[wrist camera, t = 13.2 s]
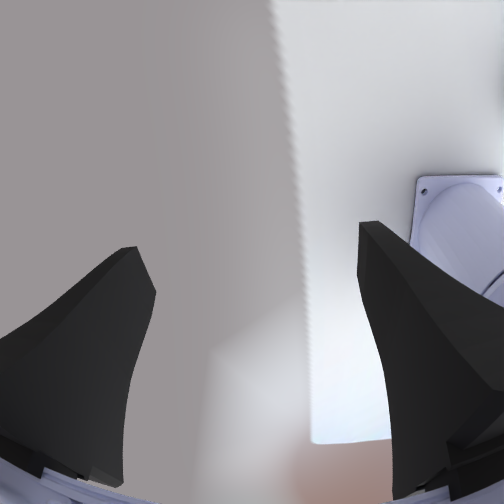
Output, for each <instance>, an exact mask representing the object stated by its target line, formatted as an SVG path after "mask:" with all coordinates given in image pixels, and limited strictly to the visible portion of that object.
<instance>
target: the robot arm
mask: <svg viewBox="0 0 504 504" xmlns="http://www.w3.org/2000/svg"><path fill="white" fill-rule="evenodd" d="M498 187H499V189H498ZM423 189H426V190H425V192H424V193H421V191H422V190H423ZM497 189H498V190H497ZM503 190H504V178H503V177H501V176H498V175H459V176H423V177H420V178H419V179H418V181H417V187H416V198H415V208H414V217H413V225H412V233H411V240H410V245H409V244H408V243H406V242H405V241H404V240H403V239H401V238H400V237H399V236H398V235H396V234H395V233H394V232H393V231H391V230H390V229H389V228H387V227H386V226H385V225H383V224H382V223H381V222H379V221H369V222H359V244H358V264H357V278H358V283H359V288H360V292H361V297H362V302H363V305H364V308H365V311H366V314H367V317H368V320H369V323H370V326H371V330H372V333H373V336H374V339H375V342H376V345H377V349H378V352H379V355H380V359H381V363H382V367H383V371H384V377H385V383H386V390H387V396H388V404H389V413H390V423H391V436H392V453H393V454H392V455H393V487H392V493H393V501H390V502H386V503H380V504H504V206H503V205H502V204H501V200H502V195H503ZM155 296H156V290H155V288H154V286H153V283H152V281H151V279H150V277H149V275H148V272H147V270H146V267H145V265H144V263H143V261H142V258H141V256H140V253H139V251H138V249H137V246H135V247H126V248H121V249H120V250H118V251H116V252H115V253H114V254H112V255H111V256H109V257H108V258H107V259H105V260H104V261H103V262H102V263H101V264H99V265H98V266H97V267H96V268H94V269H93V270H92V271H91V272H90V273H88V274H87V275H86V276H85V277H84V278H83V279H81V280H80V281H79V282H78V283H77V284H75V285H74V286H73V287H72V288H71V289H69V290H68V291H67V292H66V293H65V294H63V295H62V296H61V297H60V298H59V299H57V300H56V301H55V302H54V303H53V304H51V305H50V306H49V307H47V308H46V309H45V310H43V311H42V312H41V313H39V314H38V315H37V316H35V317H34V318H32V319H31V320H29V321H28V322H27V323H25V324H23V325H22V326H20V327H19V328H17V329H15V330H14V331H12V332H11V333H9V334H8V335H6V336H4V337H2V338H1V339H0V504H82V503H83V504H160V503H155V502H151V501H146V500H142V499H137V498H133V497H129V496H125V495H122V494H118V493H115V492H111V491H108V490H104V489H101V488H98V487H95V486H92V485H89V484H86V483H83V482H81V481H78V480H77V478H80V479H83V480H86V481H88V480H92V481H95V482H98V483H101V484H104V485H108V486H111V487H114V488H116V487H119V486H120V485H122V484H123V482H124V481H123V459H122V458H123V456H122V455H123V453H122V452H123V430H124V420H125V412H126V404H127V398H128V392H129V387H130V381H131V378H132V374H133V370H134V367H135V364H136V361H137V358H138V355H139V351H140V349H141V346H142V343H143V340H144V337H145V334H146V331H147V328H148V325H149V322H150V319H151V316H152V311H153V307H154V301H155ZM80 502H81V503H80Z"/></svg>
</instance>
